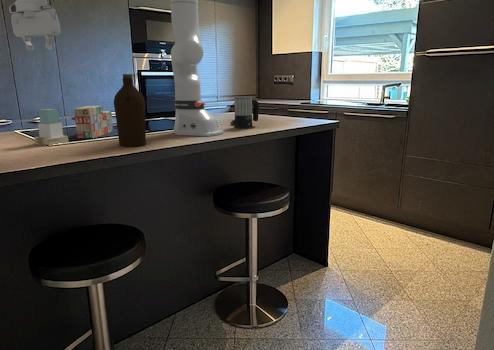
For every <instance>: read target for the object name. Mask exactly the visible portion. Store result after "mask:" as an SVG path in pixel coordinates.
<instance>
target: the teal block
mask: <svg viewBox="0 0 494 350" xmlns="http://www.w3.org/2000/svg"><path fill="white" fill-rule="evenodd" d="M38 115H39V117H38V118H39V123H42V124H54V123H61V122H60V115H59V109H58V108H43V109H38Z"/></svg>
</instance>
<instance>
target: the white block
mask: <svg viewBox="0 0 494 350" xmlns="http://www.w3.org/2000/svg"><path fill="white" fill-rule="evenodd" d="M37 126H38V133H39V137H43V138H55V137H60V136H63V135H64V131H63V124H62V122H60V123H54V124H42V123H40V122H39V123H37Z"/></svg>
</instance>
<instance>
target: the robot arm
mask: <svg viewBox="0 0 494 350" xmlns="http://www.w3.org/2000/svg"><path fill="white" fill-rule="evenodd" d="M8 10H9V13H10V14H11V16H10V20H11V26H12V31H13V34H14V36H15V37H18V38H22V41H23V43H24V44H25V46H26V51H35V46H34V45H33V43H32V42H31V41H32V38H35V37H36V38H37V37H44V39H45V43H44V44H43V47H44V50H46V51H47V50H48V51H49V50H50V51H52V50H53V42H54V36H60V35H61V33H62V30H61V25H60V20H59V17H58V14H57V11H56V9H55V7H53V6H52V5H48V0H15V2H14V3H12V4H11V5H10V6H9V8H8ZM170 15H171V26H172V31H173V36H174V45H173V46H172V47H171V50H170V59H171V67H172V68H171V69H172V73H173V82H174V97H175V98H174V99H175V100H174V110H175V118H174V119H175V121H174V128H173V131H172V132H173V133H174V134H175V135H176V136H195V137H197V136H199V137H210V136H213V137H214V136H218V135H220V134H223V133H224V130H223V129H219V123H218V119H217V118H216V117H215V116H213V115H212V114H211V113H210V111H208V110H207V109H205V106H206V105H207V102H206V101H202V98H201V94H202V93H201V92H202V91H201V80H200V76H199V72H198V64H200V63H201V61H202V59H203V58H204V49H203V43H202V37H201V33H200V26H199V25H200V24H199V0H170Z"/></svg>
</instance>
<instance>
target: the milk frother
mask: <svg viewBox="0 0 494 350" xmlns="http://www.w3.org/2000/svg"><path fill="white" fill-rule="evenodd" d="M233 99H234V119H233V120H231V121H230V123H229V124H230V126H231V125H232V126H234V127H233V128H235V129H251V128H253V127H254V126H253V122H258V121H259V114H260V113H259V112H260V104H259V102H258V100H256V99H253V96H233Z"/></svg>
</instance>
